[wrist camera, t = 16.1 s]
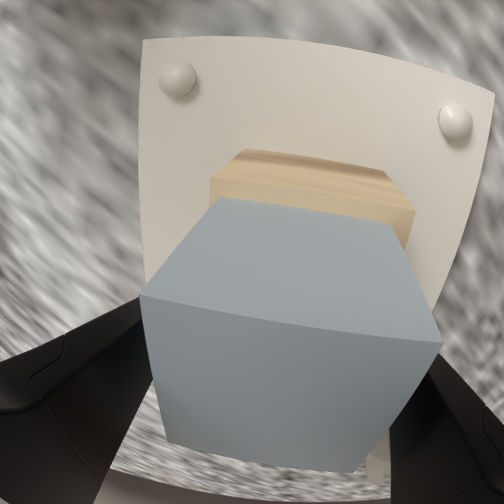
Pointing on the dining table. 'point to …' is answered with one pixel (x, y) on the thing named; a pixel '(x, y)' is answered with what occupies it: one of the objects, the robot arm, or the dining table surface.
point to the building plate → (306, 132)
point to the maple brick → (314, 187)
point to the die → (380, 462)
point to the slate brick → (286, 335)
